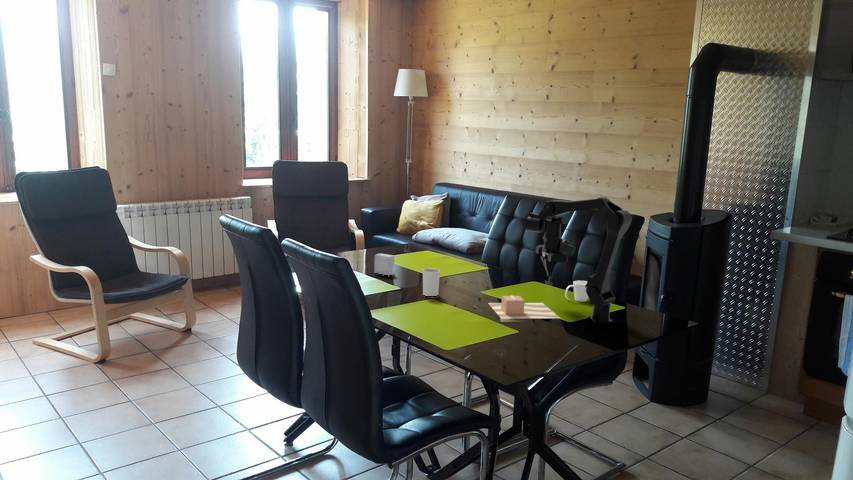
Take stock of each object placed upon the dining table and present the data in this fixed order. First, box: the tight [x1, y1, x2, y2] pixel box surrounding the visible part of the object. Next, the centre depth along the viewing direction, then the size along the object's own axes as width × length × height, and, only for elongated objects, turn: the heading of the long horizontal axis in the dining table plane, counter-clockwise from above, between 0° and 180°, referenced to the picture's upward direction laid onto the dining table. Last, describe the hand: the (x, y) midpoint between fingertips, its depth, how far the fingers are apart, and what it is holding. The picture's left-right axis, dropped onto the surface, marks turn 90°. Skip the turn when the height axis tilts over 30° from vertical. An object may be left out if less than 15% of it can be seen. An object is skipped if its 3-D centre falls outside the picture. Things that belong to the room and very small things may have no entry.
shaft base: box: [487, 302, 561, 323], centre depth 242 cm, size 20×21×5 cm
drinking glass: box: [422, 267, 441, 297], centre depth 262 cm, size 7×7×10 cm
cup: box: [564, 280, 589, 303], centre depth 259 cm, size 7×10×8 cm
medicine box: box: [373, 253, 396, 277], centre depth 295 cm, size 8×4×9 cm, turn 58°
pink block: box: [501, 295, 525, 314], centre depth 239 cm, size 6×6×5 cm
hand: (549, 276), depth 248 cm, fingers closed
